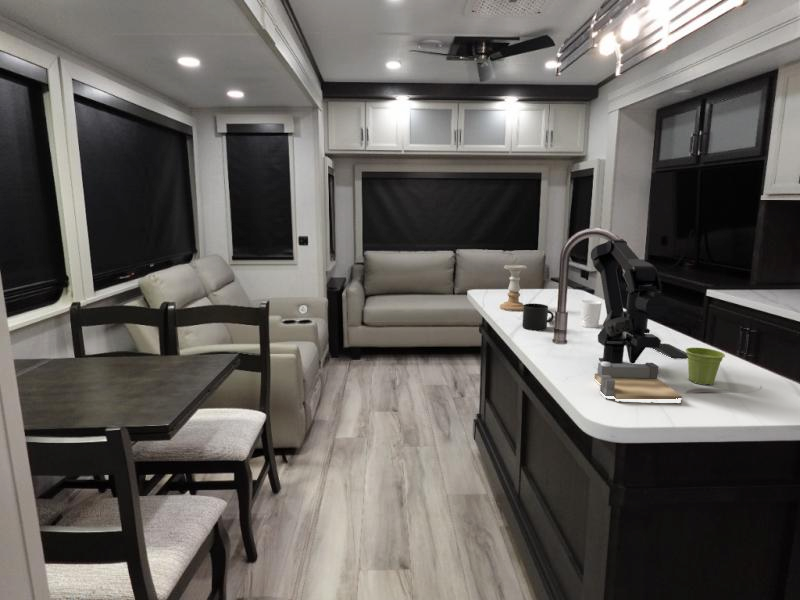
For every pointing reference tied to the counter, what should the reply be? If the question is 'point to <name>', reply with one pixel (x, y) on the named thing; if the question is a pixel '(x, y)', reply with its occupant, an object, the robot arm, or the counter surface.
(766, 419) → the counter surface
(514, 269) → the candle holder
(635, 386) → the tan wooden slab
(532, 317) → the mug
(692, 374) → the plant pot
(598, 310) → the white cup
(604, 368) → the folding leg
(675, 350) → the phone
